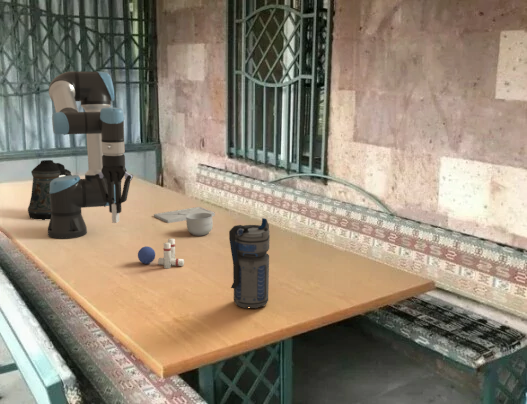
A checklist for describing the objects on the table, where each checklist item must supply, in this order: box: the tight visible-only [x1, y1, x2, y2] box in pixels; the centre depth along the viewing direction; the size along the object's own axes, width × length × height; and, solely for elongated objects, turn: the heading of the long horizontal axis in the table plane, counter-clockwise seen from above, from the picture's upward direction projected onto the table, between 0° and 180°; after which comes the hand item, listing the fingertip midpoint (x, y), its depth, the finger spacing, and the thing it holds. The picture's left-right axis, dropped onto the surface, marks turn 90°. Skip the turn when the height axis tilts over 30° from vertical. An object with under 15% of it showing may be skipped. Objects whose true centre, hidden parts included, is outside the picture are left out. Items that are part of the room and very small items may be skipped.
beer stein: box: [27, 159, 72, 221], centre depth 277 cm, size 16×19×25 cm
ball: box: [137, 246, 156, 265], centre depth 214 cm, size 6×6×6 cm
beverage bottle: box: [228, 217, 271, 309], centre depth 176 cm, size 10×13×25 cm
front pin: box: [157, 257, 185, 267], centre depth 212 cm, size 2×2×8 cm
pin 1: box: [162, 242, 172, 269], centre depth 209 cm, size 2×2×8 cm
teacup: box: [185, 212, 214, 237], centre depth 253 cm, size 14×11×8 cm
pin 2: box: [167, 238, 176, 259], centre depth 214 cm, size 2×2×8 cm
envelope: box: [153, 206, 216, 224], centre depth 281 cm, size 24×2×14 cm
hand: (115, 221), depth 212 cm, fingers closed
